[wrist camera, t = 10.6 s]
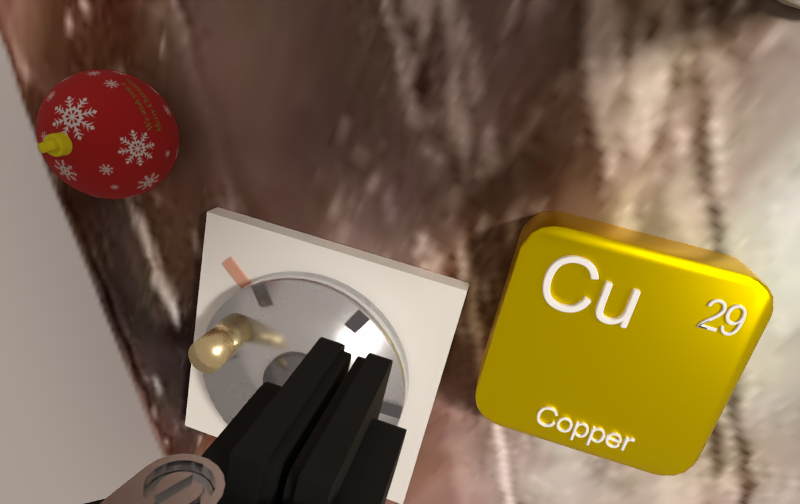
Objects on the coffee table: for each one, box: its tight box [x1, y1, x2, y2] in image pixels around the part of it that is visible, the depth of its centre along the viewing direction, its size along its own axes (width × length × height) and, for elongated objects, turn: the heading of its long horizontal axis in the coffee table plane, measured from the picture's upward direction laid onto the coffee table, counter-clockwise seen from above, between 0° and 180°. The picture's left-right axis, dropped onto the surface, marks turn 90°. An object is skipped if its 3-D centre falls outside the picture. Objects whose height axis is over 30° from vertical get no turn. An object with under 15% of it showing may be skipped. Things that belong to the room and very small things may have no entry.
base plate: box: [185, 207, 470, 504], centre depth 44 cm, size 20×20×2 cm
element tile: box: [475, 211, 773, 475], centre depth 37 cm, size 15×15×5 cm
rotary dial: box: [188, 271, 409, 426], centre depth 40 cm, size 16×16×6 cm
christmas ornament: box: [36, 69, 180, 199], centre depth 37 cm, size 9×9×10 cm
